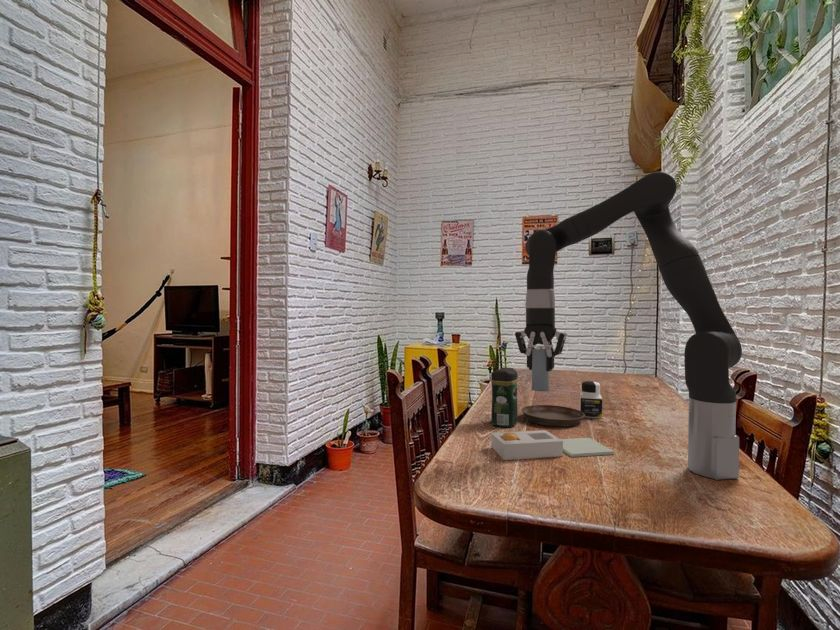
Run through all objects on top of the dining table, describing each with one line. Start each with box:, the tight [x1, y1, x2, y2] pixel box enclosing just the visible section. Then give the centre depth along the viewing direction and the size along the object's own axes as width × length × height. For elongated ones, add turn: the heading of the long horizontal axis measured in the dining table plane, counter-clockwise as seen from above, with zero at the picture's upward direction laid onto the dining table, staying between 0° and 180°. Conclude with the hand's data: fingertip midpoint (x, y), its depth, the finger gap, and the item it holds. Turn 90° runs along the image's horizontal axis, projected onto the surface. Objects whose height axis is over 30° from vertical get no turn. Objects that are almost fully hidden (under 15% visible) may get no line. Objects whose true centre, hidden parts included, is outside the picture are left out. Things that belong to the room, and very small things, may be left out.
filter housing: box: [490, 429, 564, 461], centre depth 118 cm, size 16×10×4 cm, turn 100°
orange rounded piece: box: [503, 433, 517, 441], centre depth 117 cm, size 4×4×3 cm
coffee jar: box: [490, 366, 519, 428], centre depth 145 cm, size 10×8×19 cm
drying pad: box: [559, 437, 615, 458], centre depth 120 cm, size 12×12×1 cm
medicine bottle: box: [578, 380, 604, 419], centre depth 155 cm, size 7×7×12 cm
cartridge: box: [531, 344, 550, 392], centre depth 118 cm, size 4×4×12 cm
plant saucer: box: [520, 404, 585, 427], centre depth 150 cm, size 21×21×3 cm
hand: (540, 369), depth 118 cm, fingers closed on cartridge, 4 cm apart
